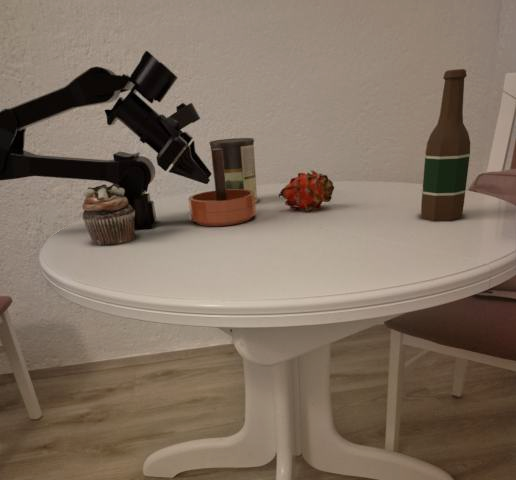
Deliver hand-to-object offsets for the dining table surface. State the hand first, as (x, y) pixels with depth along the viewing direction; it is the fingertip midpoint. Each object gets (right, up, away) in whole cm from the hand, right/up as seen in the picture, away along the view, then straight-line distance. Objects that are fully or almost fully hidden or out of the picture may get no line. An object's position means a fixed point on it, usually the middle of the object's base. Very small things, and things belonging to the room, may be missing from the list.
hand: (209, 178), depth 97 cm
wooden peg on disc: (+3, -7, +3) cm, 8 cm away
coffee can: (+5, +1, +20) cm, 21 cm away
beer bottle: (+44, -10, -7) cm, 46 cm away
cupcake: (-18, -14, -5) cm, 23 cm away
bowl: (+3, -7, +4) cm, 9 cm away
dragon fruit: (+21, -4, +7) cm, 22 cm away
